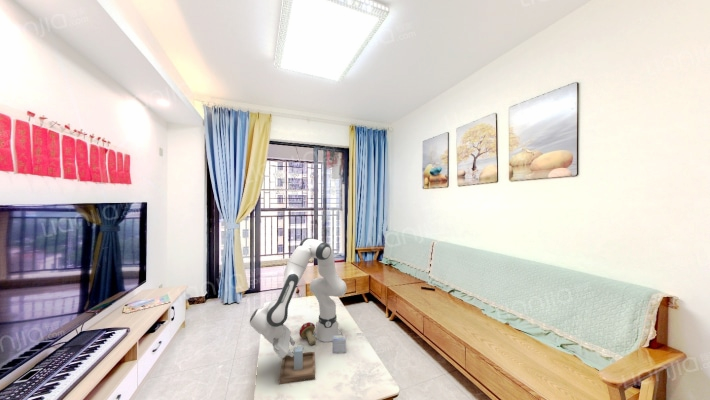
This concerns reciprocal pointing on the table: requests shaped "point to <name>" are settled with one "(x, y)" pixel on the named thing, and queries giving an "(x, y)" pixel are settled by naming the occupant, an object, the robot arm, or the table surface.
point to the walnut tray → (297, 375)
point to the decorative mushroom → (308, 332)
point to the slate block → (298, 358)
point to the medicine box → (339, 344)
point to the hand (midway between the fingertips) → (293, 349)
